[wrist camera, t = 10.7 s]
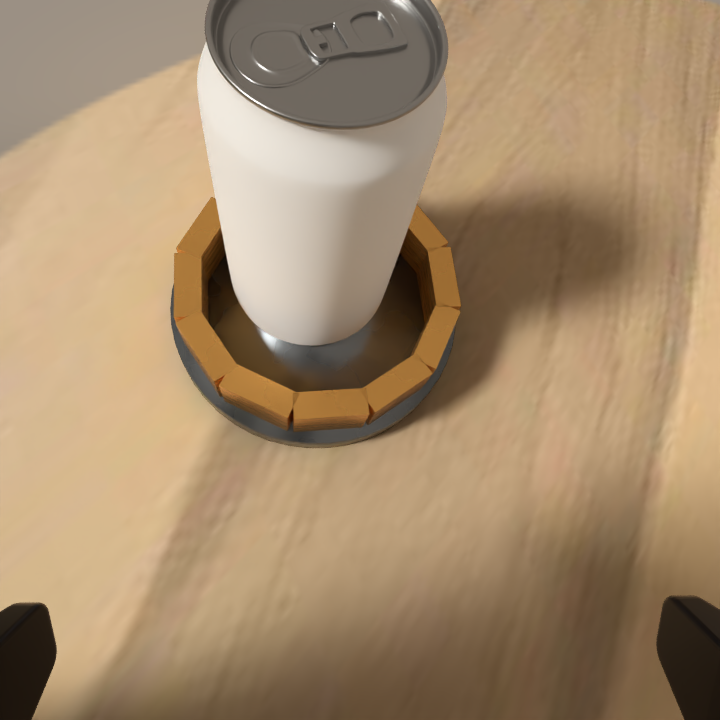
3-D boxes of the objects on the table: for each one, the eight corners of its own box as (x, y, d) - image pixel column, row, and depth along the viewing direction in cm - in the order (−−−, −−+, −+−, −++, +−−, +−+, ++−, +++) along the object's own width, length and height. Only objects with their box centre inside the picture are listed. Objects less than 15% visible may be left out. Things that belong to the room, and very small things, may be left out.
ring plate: (386, 498, 22) (401, 488, 19) (118, 369, 23) (94, 341, 20) (485, 264, 27) (508, 228, 24) (258, 160, 27) (255, 114, 24)
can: (210, 242, 24) (144, -41, 13) (346, 198, 26) (391, -86, 15) (267, 373, 22) (248, 178, 11) (409, 317, 24) (516, 98, 13)
